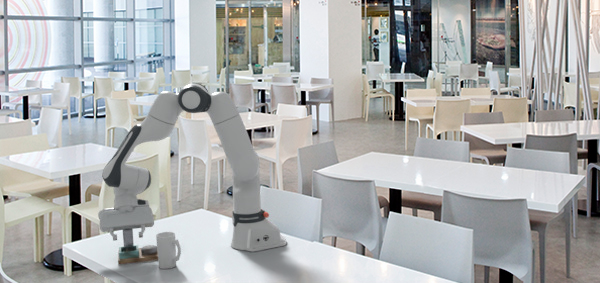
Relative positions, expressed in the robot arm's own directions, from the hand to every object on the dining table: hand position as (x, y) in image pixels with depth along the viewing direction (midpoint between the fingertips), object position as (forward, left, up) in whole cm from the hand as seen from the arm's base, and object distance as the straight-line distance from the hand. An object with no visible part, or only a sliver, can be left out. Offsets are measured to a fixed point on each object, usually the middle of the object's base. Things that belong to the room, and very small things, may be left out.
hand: (128, 238), depth 216 cm
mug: (-14, +13, -9) cm, 21 cm away
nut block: (-3, -2, -8) cm, 9 cm away
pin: (0, -1, -7) cm, 7 cm away
